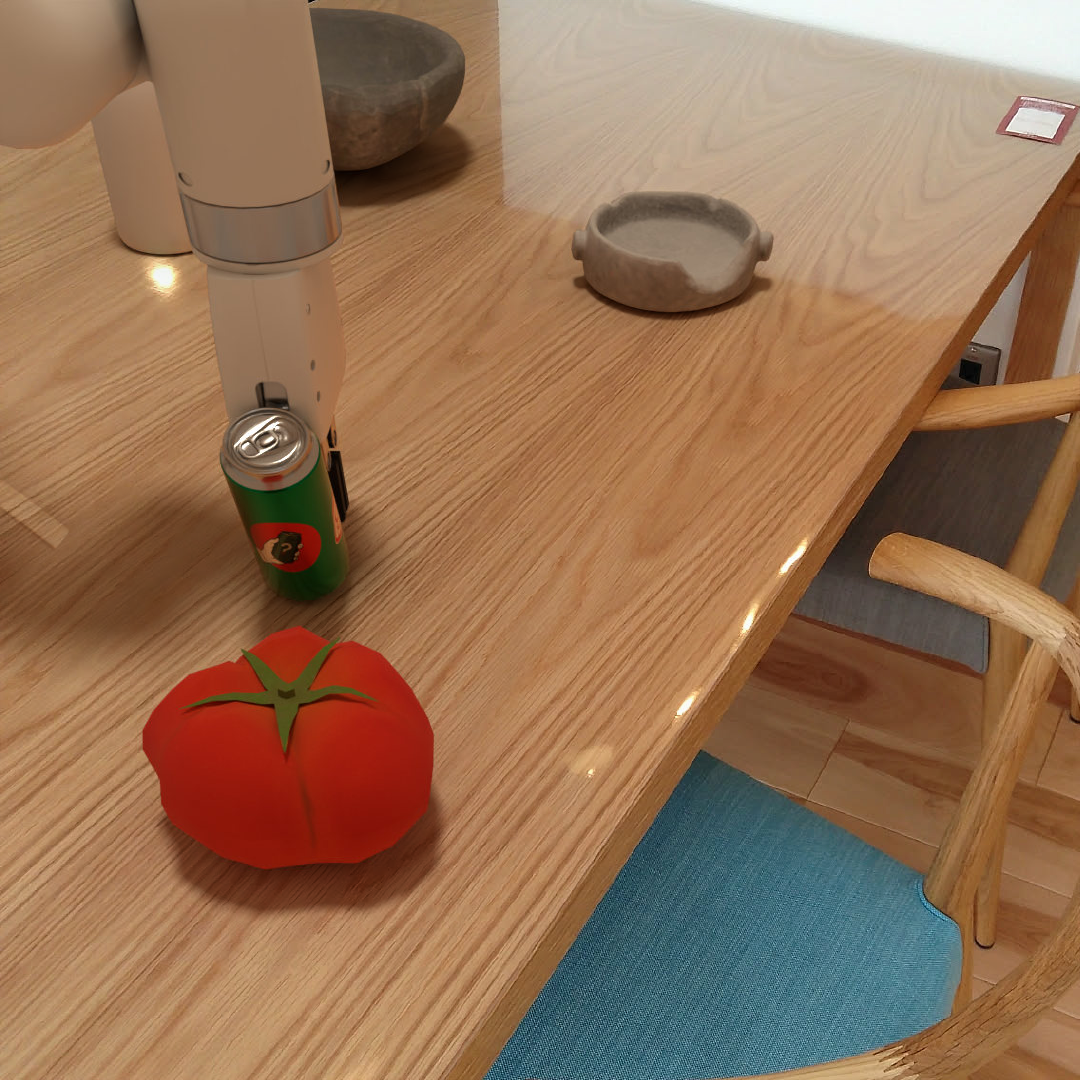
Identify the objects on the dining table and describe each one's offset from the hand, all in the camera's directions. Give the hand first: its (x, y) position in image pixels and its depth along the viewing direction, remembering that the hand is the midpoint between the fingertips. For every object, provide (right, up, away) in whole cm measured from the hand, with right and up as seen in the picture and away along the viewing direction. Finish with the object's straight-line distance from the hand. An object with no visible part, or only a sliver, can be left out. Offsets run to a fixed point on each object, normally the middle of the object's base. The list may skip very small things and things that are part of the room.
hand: (320, 514), depth 82 cm
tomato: (+4, -17, -13) cm, 22 cm away
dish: (+19, +24, +30) cm, 43 cm away
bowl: (-11, +39, +43) cm, 59 cm away
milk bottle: (-21, +27, +29) cm, 45 cm away
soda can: (0, -4, -1) cm, 4 cm away
